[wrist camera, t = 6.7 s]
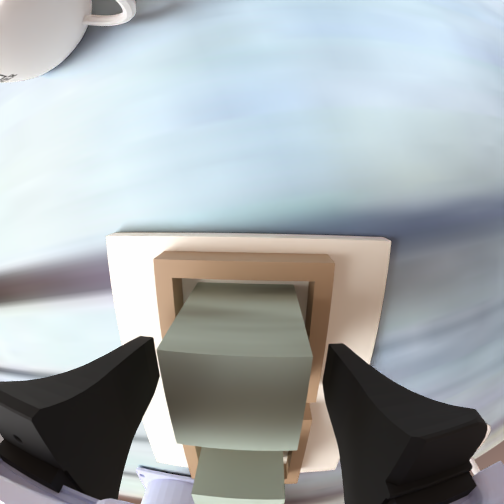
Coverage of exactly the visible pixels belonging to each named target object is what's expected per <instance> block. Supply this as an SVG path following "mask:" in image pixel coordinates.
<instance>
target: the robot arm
mask: <svg viewBox="0 0 504 504" xmlns="http://www.w3.org/2000/svg"><path fill="white" fill-rule="evenodd" d="M159 377H160V373H159V367H158V362H157V356H156V350H155V344H154V338H153V337H146V336H139V337H137V338H135V339H133V340H131V341H129V342H127V343H126V344H124V345H122V346H120V347H119V348H117V349H115V350H113V351H112V352H110V353H108V354H106V355H104V356H102V357H100V358H98V359H96V360H94V361H92V362H90V363H88V364H86V365H84V366H81V367H79V368H76V369H73V370H71V371H68V372H65V373H61V374H57V375H54V376H50V377H46V378H40V379H34V380H27V381H10V382H0V434H1V435H2V437H3V438H4V440H3V441H2V442H1V443H0V504H133V503H130V502H126V501H121V500H118V494H119V488H120V484H121V479H122V475H123V471H124V467H125V463H126V459H127V456H128V453H129V450H130V446H131V443H132V440H133V438H134V435H135V433H136V430H137V428H138V426H139V424H140V422H141V420H142V418H143V416H144V414H145V412H146V410H147V408H148V406H149V404H150V402H151V400H152V398H153V396H154V393H155V390H156V387H157V384H158V381H159ZM322 385H323V392H324V398H325V404H326V407H327V411H328V414H329V417H330V421H331V424H332V427H333V431H334V434H335V438H336V441H337V445H338V449H339V455H340V462H341V469H342V478H343V487H344V501H345V504H504V465H503V463H502V462H501V461H498V462H496V463H495V464H493V465H491V466H489V467H487V468H485V469H483V470H481V471H480V472H478V473H477V474H475V475H474V476H473V477H472V476H471V475H470V472H469V471H470V470H471V469H472V464H471V463H470V461H469V460H470V459H471V457H472V456H473V455H474V453H475V452H476V450H477V449H478V448H479V446H480V445H481V443H482V442H483V440H484V438H485V436H486V433H487V424H486V423H485V421H484V420H483V419H482V417H481V416H480V415H479V413H478V412H477V411H476V409H470V408H464V407H458V406H453V405H449V404H445V403H442V402H438V401H435V400H432V399H429V398H426V397H424V396H422V395H419V394H417V393H414V392H412V391H410V390H408V389H406V388H404V387H402V386H401V385H399V384H397V383H395V382H393V381H392V380H390V379H389V378H387V377H386V376H384V375H383V374H381V373H380V372H378V371H377V370H376V369H374V368H373V367H372V366H370V365H369V364H368V363H367V362H365V361H364V360H363V359H362V358H360V357H359V356H358V355H357V354H356V353H355V352H353V351H352V350H351V349H350V348H349V347H347V346H346V345H345V344H343V343H336V344H329V345H328V351H327V358H326V364H325V370H324V375H323V381H322ZM136 472H137V474H138V476H139V478H140V480H141V482H142V484H143V485H144V487H145V489H146V490H145V493H144V496H143V499H142V502H141V504H195V503H194V500H193V497H192V495H191V493H192V488H193V484H194V479H192V478H191V477H187V476H181V475H175V474H169V473H164V472H159V471H154V470H149V469H145V468H141V467H138V468H137V469H136Z"/></svg>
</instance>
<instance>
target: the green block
mask: <svg viewBox="0 0 504 504" xmlns="http://www.w3.org/2000/svg"><path fill="white" fill-rule="evenodd" d="M156 350H157V356H158V362H159V367H160V373H161V378H162V383H163V388H164V393H165V397H166V402H167V406H168V411H169V415H170V419H171V423H172V427H173V431H174V435H175V439H176V443H177V444H183V445H191V446H199V447H208V448H218V449H231V450H252V451H293V450H297V449H298V444H299V438H300V433H301V428H302V423H303V417H304V411H305V406H306V400H307V393H308V387H309V381H310V374H311V367H312V360H313V355H312V351H311V347H310V343H309V340H308V336H307V332H306V328H305V324H304V321H303V317H302V313H301V310H300V306H299V302H298V299H297V295H296V291H295V288H294V284H243V283H210V282H198V283H197V284H196V286H195V287H194V289H193V291H192V292H191V294H190V295H189V297H188V299H187V300H186V302H185V303H184V305H183V307H182V308H181V310H180V312H179V313H178V315H177V316H176V318H175V320H174V321H173V323H172V325H171V326H170V328H169V330H168V331H167V333H166V334H165V336H164V338H163V339H162V341H161V343H160V344H159V346H158V348H157V349H156Z"/></svg>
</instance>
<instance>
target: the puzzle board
mask: <svg viewBox="0 0 504 504" xmlns="http://www.w3.org/2000/svg"><path fill="white" fill-rule="evenodd" d="M106 242H107V253H108V262H109V270H110V278H111V286H112V293H113V299H114V305H115V311H116V317H117V322H118V327H119V333H120V337H121V342H122V345H124V344H126V343H127V342H129V341H131V340H133V339H135V338H137V337H139V336H146V337H153V338H154V344H155V350H156V349H157V348H158V346H159V344H160V343H161V341H162V339H163V338H164V336H165V334H166V333H167V331H168V330H169V328H170V326H171V325H172V323H173V321H174V320H175V318H176V316H177V315H178V313H179V312H180V310H181V308H182V307H183V305H184V303H185V302H186V300H187V299H188V297H189V295H190V294H191V292H192V291H193V289H194V287H195V286H196V284H197V283H198V282H210V283H243V284H294V288H295V291H296V295H297V299H298V302H299V306H300V310H301V313H302V317H303V321H304V324H305V328H306V332H307V336H308V340H309V343H310V347H311V351H312V355H313V360H312V367H311V374H310V381H309V387H308V393H307V400H306V406H305V411H304V417H303V423H302V428H301V433H300V438H299V444H298V449H297V450H293V451H252V450H231V449H218V448H208V447H199V446H191V445H183V444H177V443H176V439H175V435H174V431H173V427H172V423H171V419H170V415H169V411H168V406H167V402H166V397H165V393H164V388H163V383H162V378H161V373H160V367H159V362H158V356H157V350H156V356H157V362H158V367H159V373H160V377H159V381H158V384H157V387H156V390H155V393H154V396H153V398H152V400H151V402H150V404H149V406H148V408H147V410H146V412H145V414H144V416H143V418H142V421H143V424H144V427H145V430H146V433H147V436H148V438H149V441H150V444H151V447H152V449H153V452H154V455H155V457H156V460H157V462H160V463H165V464H170V465H176V466H182V467H189V471H190V474H191V478H192V479H194V484H193V488H192V493H191V495H192V497H193V500H194V503H195V504H284V502H285V485H284V484H293V483H297V481H298V478H299V474H300V473H301V472H316V471H327V470H335V468H336V466H337V464H338V461H339V459H340V455H339V449H338V445H337V441H336V438H335V434H334V431H333V427H332V424H331V421H330V417H329V414H328V411H327V407H326V404H325V398H324V392H323V385H322V381H323V375H324V370H325V364H326V358H327V351H328V345H329V344H336V343H343V344H345V345H346V346H347V347H349V348H350V349H351V350H352V351H353V352H355V353H356V354H357V355H358V356H359V357H360V358H362V359H363V360H364V361H365V362H367V363H368V364H369V365H370V361H371V357H372V353H373V348H374V344H375V340H376V335H377V330H378V325H379V320H380V315H381V310H382V304H383V299H384V293H385V286H386V280H387V273H388V265H389V257H390V249H391V241H390V240H388V239H386V238H384V237H367V236H338V235H303V234H257V233H167V232H125V233H113V234H110V235H108V236H106Z"/></svg>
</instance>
